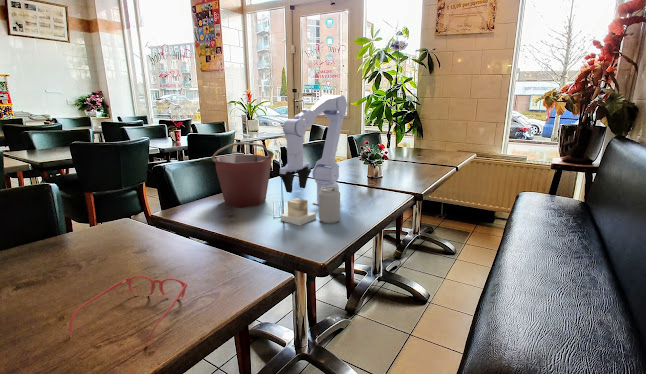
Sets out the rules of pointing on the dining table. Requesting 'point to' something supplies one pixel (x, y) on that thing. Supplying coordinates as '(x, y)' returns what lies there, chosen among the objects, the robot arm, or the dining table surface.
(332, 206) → the can
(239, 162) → the bucket
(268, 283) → the dining table surface
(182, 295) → the red eyeglasses
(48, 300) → the dining table surface
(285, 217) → the coaster
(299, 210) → the cube
